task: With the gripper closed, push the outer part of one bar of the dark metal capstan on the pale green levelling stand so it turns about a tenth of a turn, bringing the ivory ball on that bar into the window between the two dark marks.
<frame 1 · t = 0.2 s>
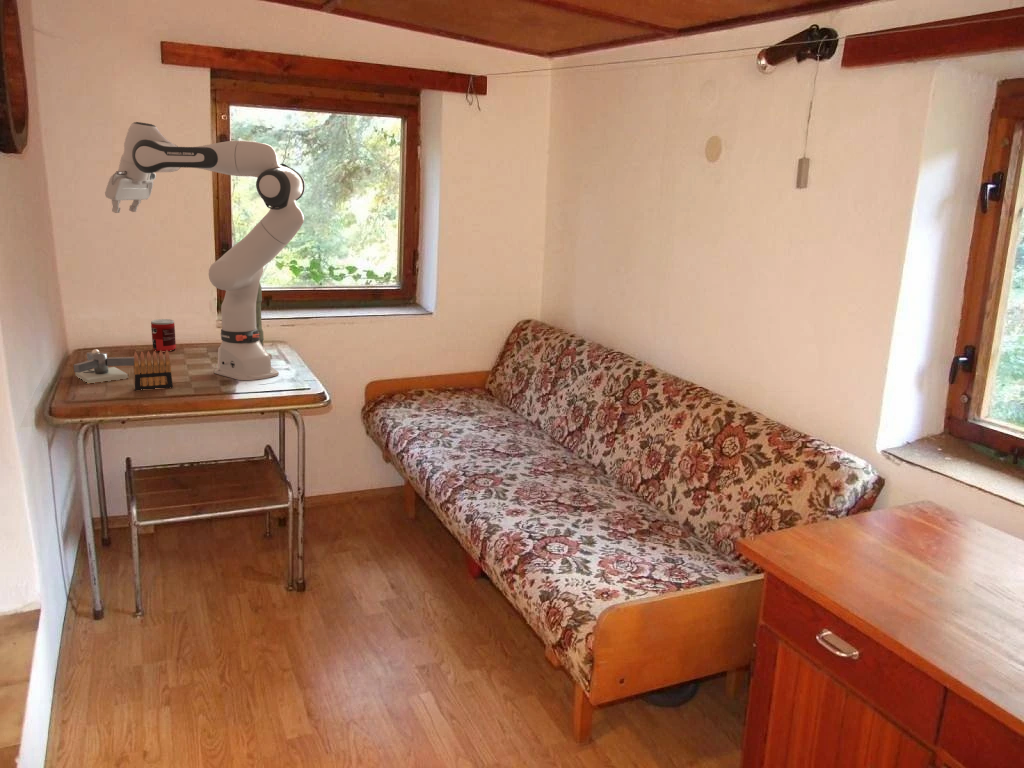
hand: (124, 211, 268), 51 cm above the table, tool tilted 20°, fingers open, 8 cm apart
thermos: (251, 346, 313), on the table
stand plate: (102, 377, 261), on the table
ammunition clip: (154, 389, 251), on the table
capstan: (98, 360, 261), point 5 cm above the table, hinge at 0.0°
canned food: (164, 350, 301), on the table
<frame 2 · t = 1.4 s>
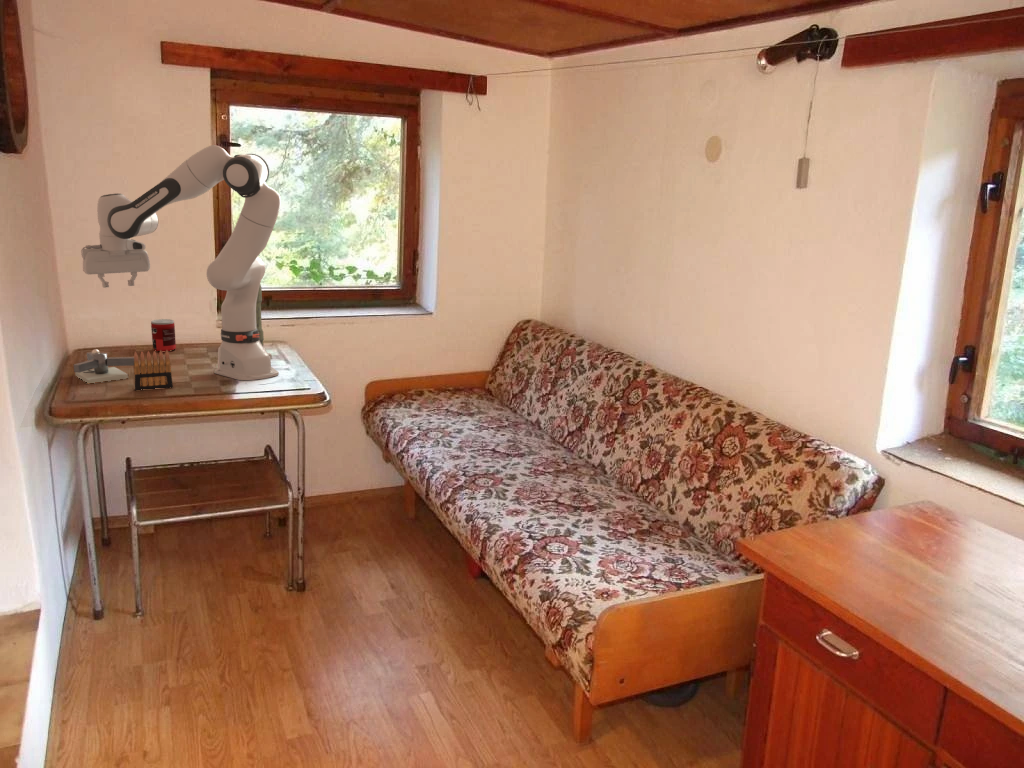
hand: (118, 286, 269), 27 cm above the table, tool pointing down, fingers open, 7 cm apart
nothing on the table moved.
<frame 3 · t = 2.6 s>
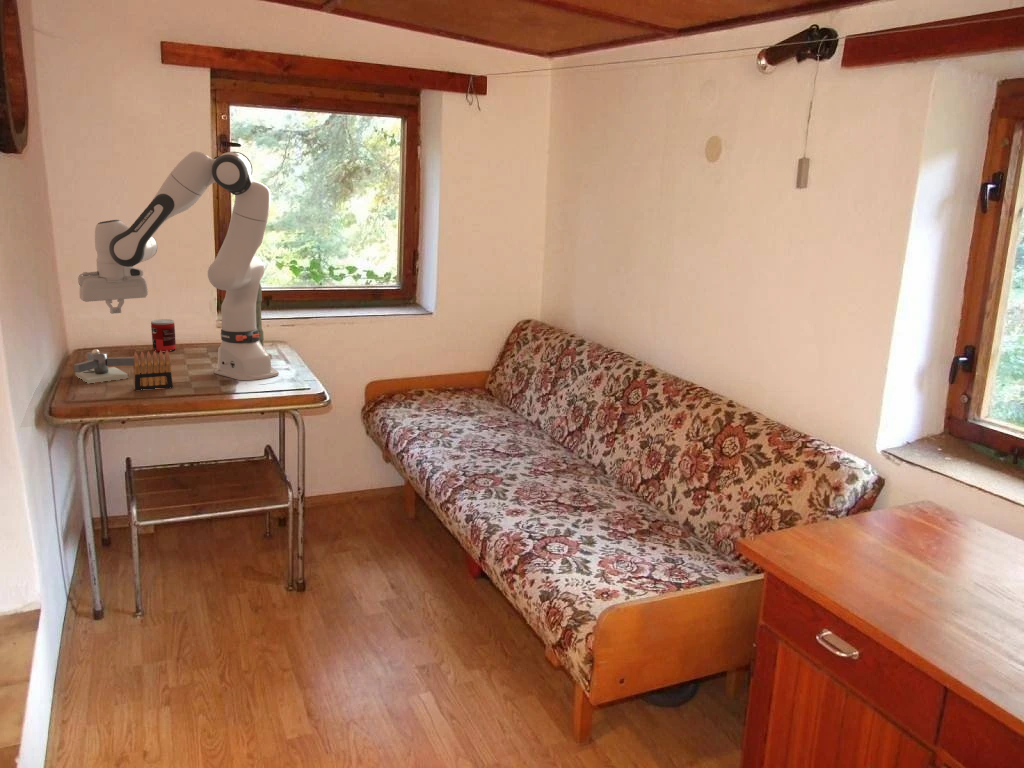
hand: (115, 313, 266), 19 cm above the table, tool pointing down, fingers closed
nothing on the table moved.
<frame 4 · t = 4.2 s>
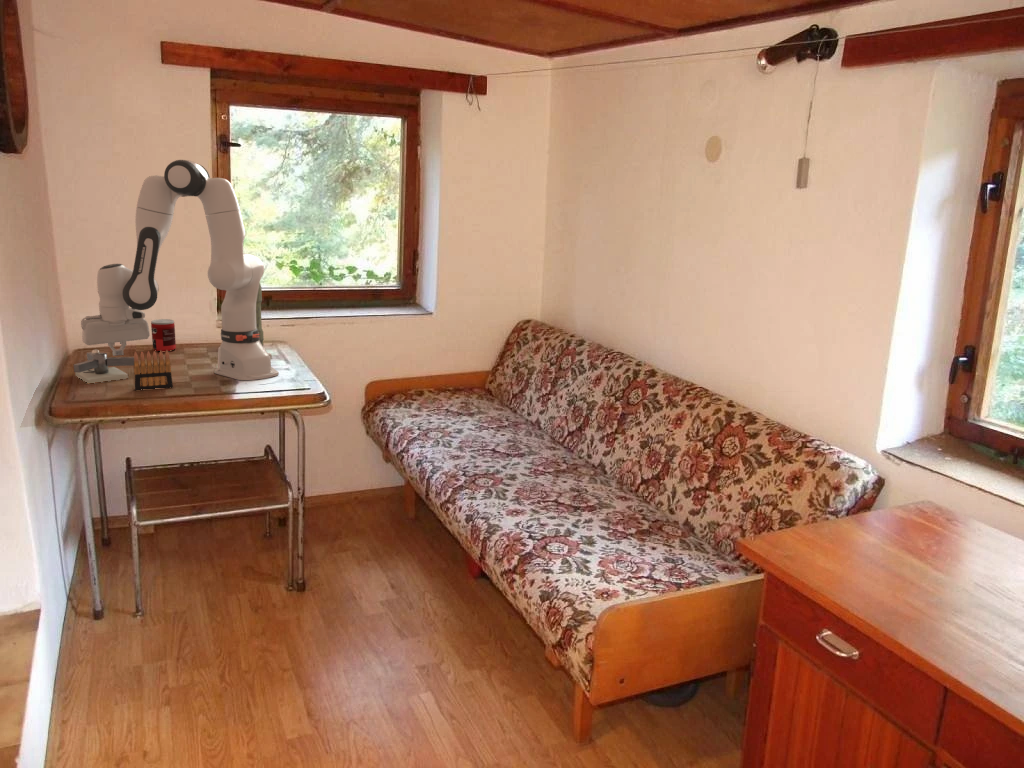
hand: (118, 355, 269), 5 cm above the table, tool pointing down, fingers closed
nothing on the table moved.
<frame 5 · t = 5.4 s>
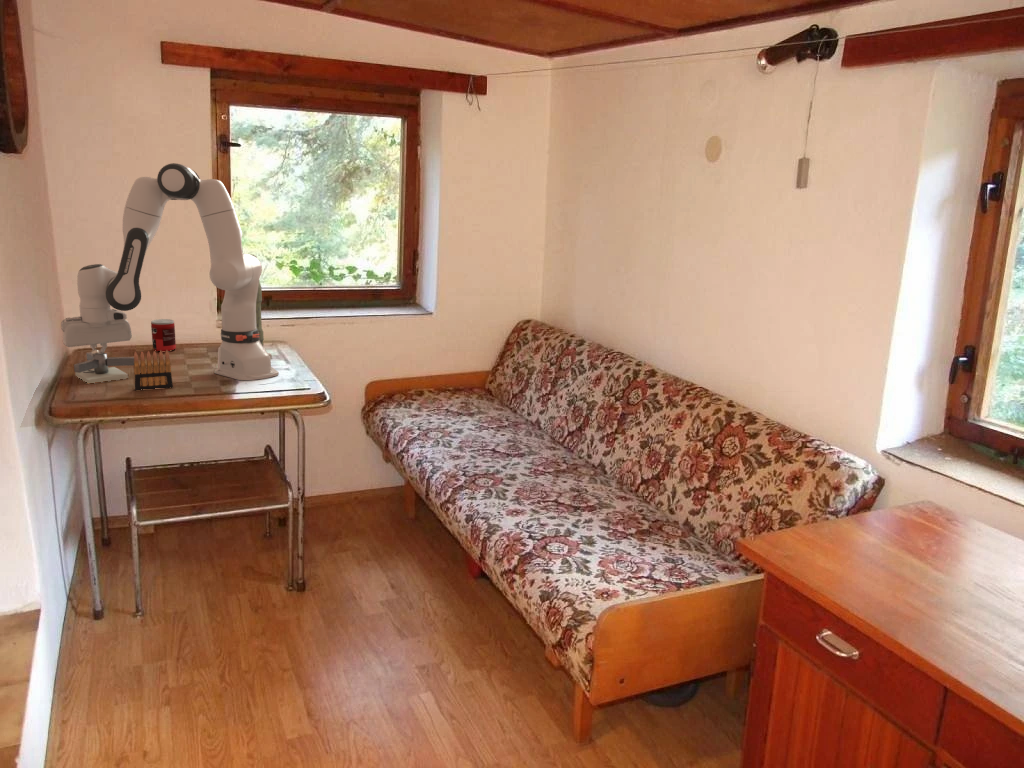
hand: (99, 356, 265), 5 cm above the table, tool pointing down, fingers closed
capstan: (98, 360, 261), point 5 cm above the table, hinge at 0.8°, touching gripper
everything else where it was.
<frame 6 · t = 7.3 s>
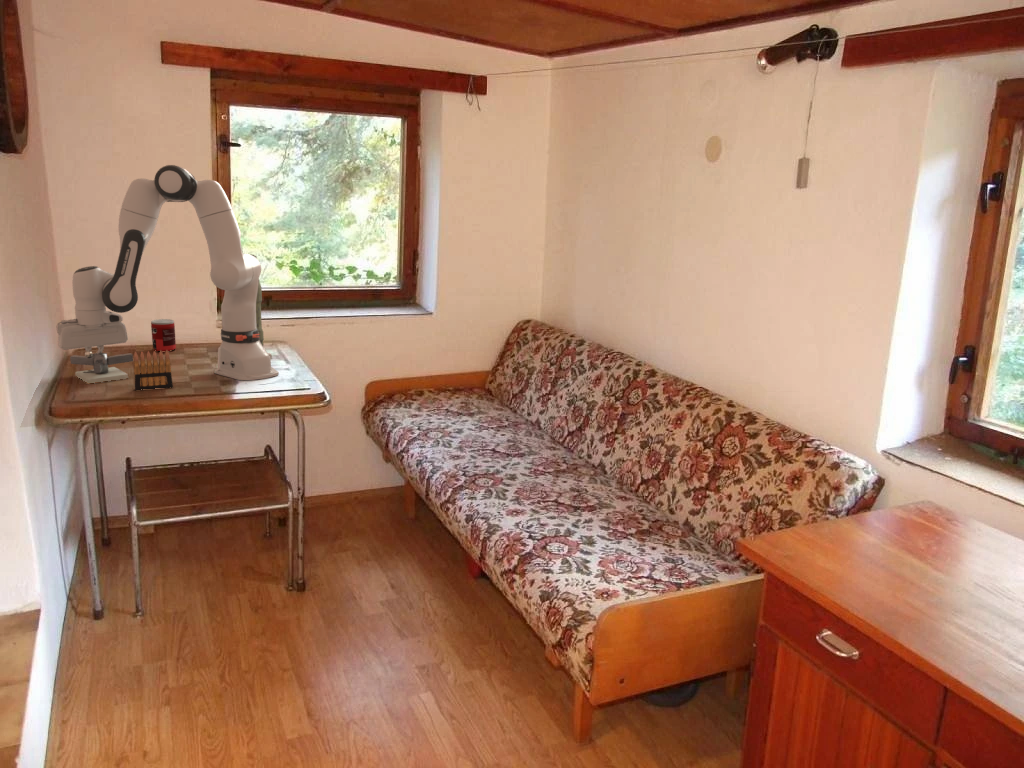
hand: (95, 359, 264), 5 cm above the table, tool pointing down, fingers closed
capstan: (94, 361, 260), point 5 cm above the table, hinge at 36.4°
everything else where it was.
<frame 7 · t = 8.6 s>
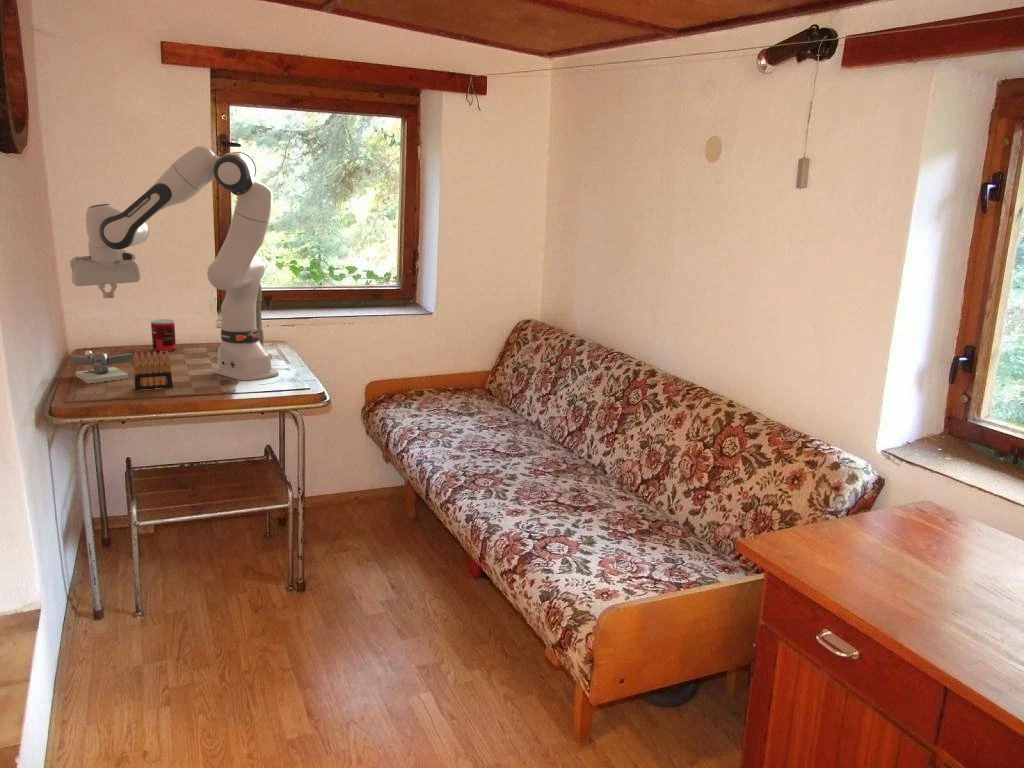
hand: (108, 297, 265), 24 cm above the table, tool pointing down, fingers closed
nothing on the table moved.
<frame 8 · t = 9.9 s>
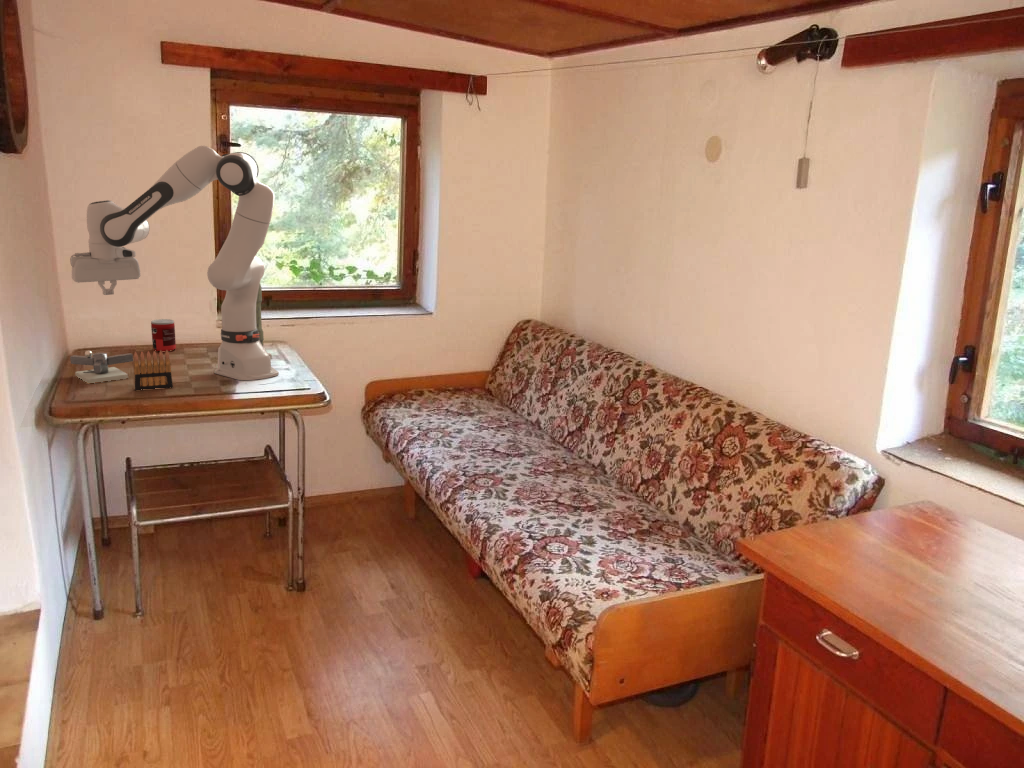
hand: (108, 294, 265), 25 cm above the table, tool pointing down, fingers closed
nothing on the table moved.
at the end: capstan at +36° (first picture: +0°) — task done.
